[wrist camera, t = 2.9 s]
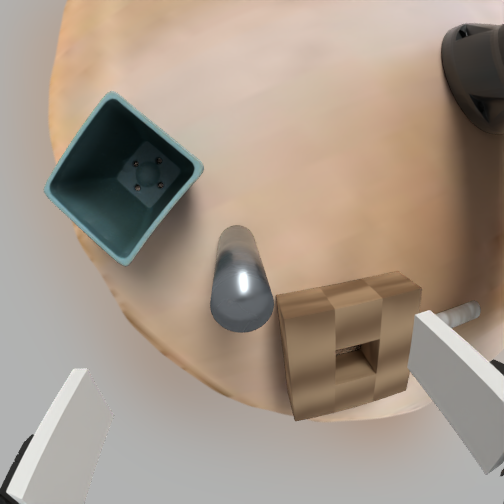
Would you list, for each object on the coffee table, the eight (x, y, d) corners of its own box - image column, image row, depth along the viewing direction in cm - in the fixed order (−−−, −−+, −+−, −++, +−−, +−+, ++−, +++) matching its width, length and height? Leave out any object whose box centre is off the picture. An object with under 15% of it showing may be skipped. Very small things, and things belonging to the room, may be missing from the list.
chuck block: (276, 295, 30) (284, 319, 25) (470, 253, 31) (495, 265, 26) (288, 393, 34) (295, 421, 29) (455, 342, 35) (474, 360, 30)
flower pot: (145, 108, 24) (109, 87, 15) (215, 166, 26) (207, 167, 18) (91, 181, 25) (40, 191, 17) (155, 237, 28) (125, 270, 19)
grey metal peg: (215, 228, 28) (204, 281, 15) (252, 222, 28) (269, 271, 15) (222, 262, 29) (217, 336, 16) (257, 257, 29) (277, 327, 16)
